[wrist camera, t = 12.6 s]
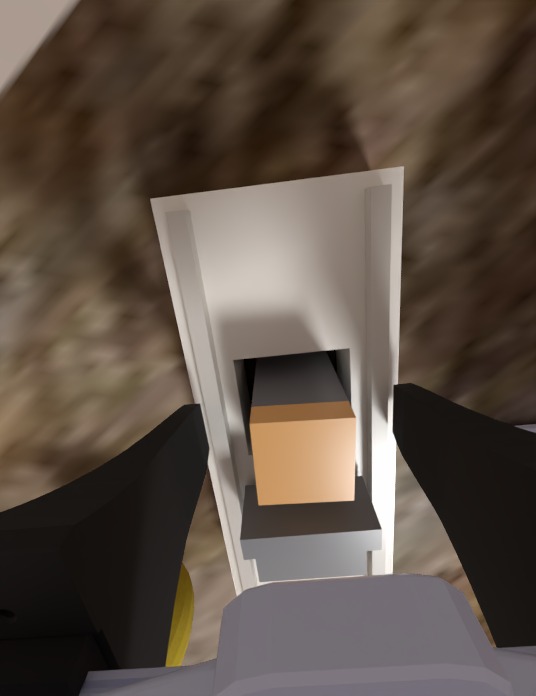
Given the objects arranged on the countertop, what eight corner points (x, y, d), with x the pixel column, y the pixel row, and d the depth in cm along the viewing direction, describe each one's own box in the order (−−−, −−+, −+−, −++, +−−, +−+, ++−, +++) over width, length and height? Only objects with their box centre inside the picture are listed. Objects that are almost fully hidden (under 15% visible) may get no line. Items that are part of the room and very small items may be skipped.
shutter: (245, 485, 14) (239, 540, 11) (362, 475, 14) (381, 529, 11) (259, 569, 16) (258, 632, 13) (363, 562, 15) (380, 624, 13)
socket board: (176, 205, 13) (141, 196, 10) (374, 180, 13) (413, 161, 9) (244, 555, 20) (238, 623, 16) (374, 545, 20) (396, 613, 16)
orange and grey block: (325, 407, 16) (354, 500, 11) (262, 411, 16) (258, 505, 11) (324, 348, 15) (356, 417, 10) (257, 352, 15) (249, 423, 10)
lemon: (164, 591, 21) (105, 790, 14) (97, 545, 20) (-8, 738, 12) (225, 553, 20) (197, 748, 12) (158, 500, 19) (82, 684, 11)
